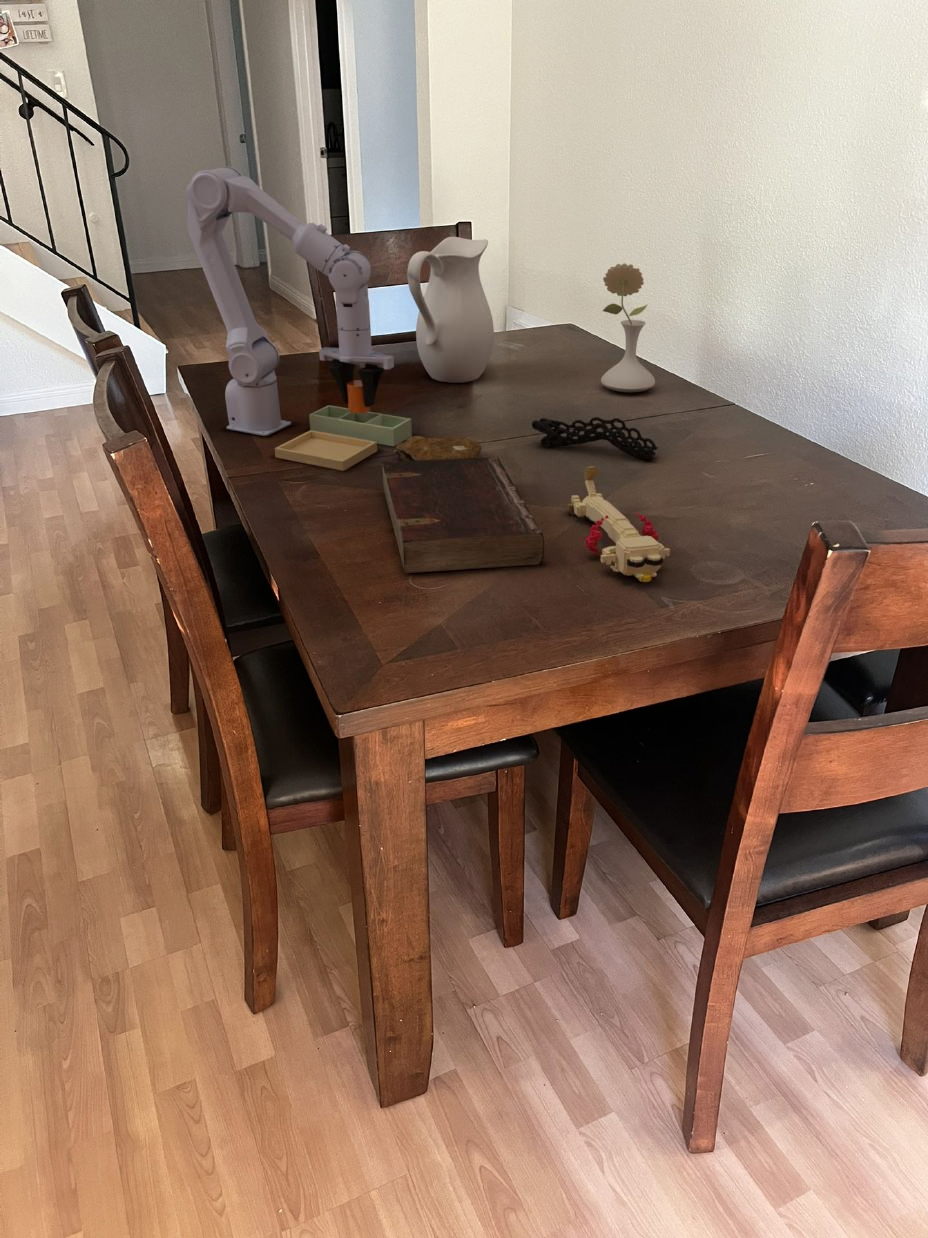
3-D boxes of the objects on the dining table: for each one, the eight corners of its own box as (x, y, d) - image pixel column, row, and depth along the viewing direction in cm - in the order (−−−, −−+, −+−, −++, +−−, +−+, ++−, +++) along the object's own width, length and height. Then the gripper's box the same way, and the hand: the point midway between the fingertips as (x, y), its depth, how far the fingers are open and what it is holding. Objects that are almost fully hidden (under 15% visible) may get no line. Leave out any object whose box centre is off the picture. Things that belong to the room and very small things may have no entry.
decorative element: (658, 455, 156) (661, 422, 153) (650, 464, 152) (654, 430, 149) (537, 438, 164) (538, 406, 161) (527, 446, 160) (528, 414, 157)
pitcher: (447, 362, 210) (446, 233, 195) (508, 373, 201) (510, 240, 187) (381, 386, 193) (374, 247, 179) (444, 399, 184) (442, 255, 170)
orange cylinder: (344, 411, 164) (342, 384, 161) (356, 405, 167) (354, 378, 164) (362, 414, 162) (361, 387, 159) (374, 408, 165) (373, 381, 162)
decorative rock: (392, 477, 149) (482, 479, 149) (391, 454, 147) (483, 456, 147) (395, 449, 158) (480, 451, 159) (395, 427, 156) (481, 429, 157)
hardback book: (543, 564, 121) (544, 530, 118) (404, 575, 118) (403, 541, 116) (499, 483, 145) (499, 454, 143) (383, 491, 143) (382, 461, 140)
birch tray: (275, 457, 156) (274, 448, 155) (311, 438, 164) (310, 429, 163) (343, 470, 150) (343, 461, 150) (377, 450, 159) (376, 441, 158)
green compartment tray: (310, 431, 168) (308, 414, 166) (329, 421, 173) (328, 404, 171) (394, 446, 161) (393, 428, 159) (411, 435, 165) (411, 418, 164)
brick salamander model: (553, 522, 135) (611, 587, 113) (554, 465, 132) (615, 522, 110) (615, 516, 137) (684, 579, 115) (619, 460, 133) (691, 515, 111)
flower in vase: (662, 386, 192) (676, 262, 179) (641, 400, 184) (654, 271, 171) (606, 377, 198) (616, 257, 185) (584, 390, 190) (592, 265, 177)
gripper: (306, 327, 157) (313, 404, 163) (377, 336, 151) (381, 415, 158) (329, 319, 162) (335, 394, 169) (398, 327, 156) (401, 404, 163)
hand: (359, 403), depth 164 cm, fingers closed on orange cylinder, 4 cm apart
